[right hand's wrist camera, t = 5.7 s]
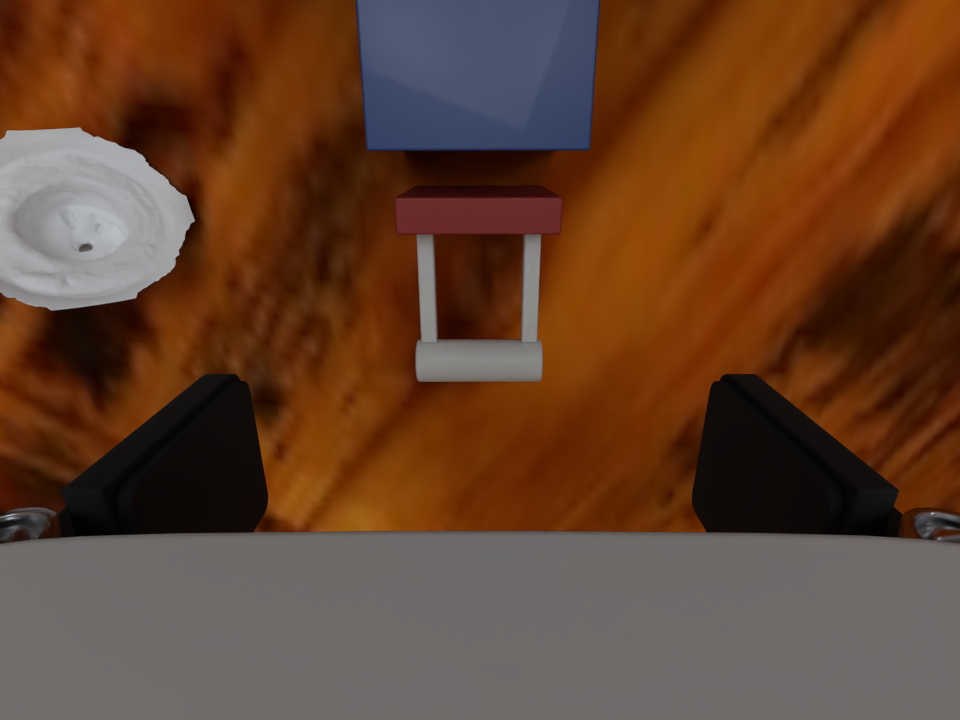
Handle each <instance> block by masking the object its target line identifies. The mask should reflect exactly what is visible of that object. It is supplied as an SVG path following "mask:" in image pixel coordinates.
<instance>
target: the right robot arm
mask: <svg viewBox="0 0 960 720" xmlns="http://www.w3.org/2000/svg"><path fill="white" fill-rule="evenodd" d="M61 492H62V495H63V498H64V501H65V504H66V508H64V509H63V510H62V511H61V512H60V513H59V514H57V515H56V513H55V512H53V511H51V510H48V509H46V508H23V509H15V510H10V511H6V512H2V513H0V720H960V513H958V512H954V511H950V510H945V509H937V508H914V509H912V510H909V511H907V512H905V513H904V515H903V514H901V513H900V512H899V511H898V510H897V509H896V508H894V504H895V501H896V498H897V495H898V492H899V490H898V489H897V488H895V487H894V486H893V485H892V484H890V483H889V482H888V481H887V480H885V479H884V478H883V477H882V476H880V475H879V474H878V473H877V472H876V471H874V470H873V469H872V468H871V467H869V466H868V465H867V464H866V463H864V462H863V461H862V460H861V459H859V458H858V457H857V456H856V455H855V454H853V453H852V452H851V451H850V450H848V449H847V448H846V447H845V446H843V445H842V444H841V443H840V442H838V441H837V440H836V439H835V438H834V437H832V436H831V435H830V434H829V433H827V432H826V431H825V430H824V429H822V428H821V427H820V426H819V425H817V424H816V423H815V422H814V421H813V420H811V419H810V418H809V417H808V416H806V415H805V414H804V413H803V412H801V411H800V410H799V409H798V408H796V407H795V406H794V405H793V404H792V403H790V402H789V401H788V400H787V399H785V398H784V397H783V396H782V395H780V394H779V393H778V392H777V391H775V390H774V389H773V388H772V387H771V386H769V385H768V384H767V383H766V382H764V381H763V380H762V379H761V378H759V377H758V376H757V375H755V374H725V375H723V376H722V377H721V379H720V381H715V382H713V383H712V385H711V388H710V393H709V399H708V405H707V411H706V416H705V422H704V428H703V434H702V440H701V445H700V451H699V457H698V463H697V469H696V474H695V480H694V486H693V492H692V504H693V508H694V511H695V513H696V515H697V517H698V518H699V520H700V522H701V523H702V525H703V527H704V528H705V530H706V532H707V533H701V532H583V531H355V532H262V533H253V532H254V530H255V528H256V527H257V525H258V523H259V522H260V520H261V518H262V517H263V515H264V513H265V511H266V508H267V504H268V492H267V486H266V480H265V474H264V469H263V463H262V457H261V451H260V445H259V440H258V434H257V428H256V422H255V416H254V411H253V405H252V399H251V393H250V388H249V385H248V383H247V382H245V381H240V379H239V377H238V376H237V375H235V374H205V375H203V376H202V377H201V378H199V379H198V380H197V381H196V382H194V383H193V384H192V385H191V386H189V387H188V388H187V389H186V390H185V391H183V392H182V393H181V394H180V395H178V396H177V397H176V398H175V399H173V400H172V401H171V402H170V403H168V404H167V405H166V406H165V407H164V408H162V409H161V410H160V411H159V412H157V413H156V414H155V415H154V416H152V417H151V418H150V419H149V420H147V421H146V422H145V423H144V424H143V425H141V426H140V427H139V428H138V429H136V430H135V431H134V432H133V433H131V434H130V435H129V436H128V437H126V438H125V439H124V440H123V441H122V442H120V443H119V444H118V445H117V446H115V447H114V448H113V449H112V450H110V451H109V452H108V453H107V454H105V455H104V456H103V457H102V458H101V459H99V460H98V461H97V462H96V463H94V464H93V465H92V466H91V467H89V468H88V469H87V470H86V471H84V472H83V473H82V474H81V475H80V476H78V477H77V478H76V479H75V480H73V481H72V482H71V483H70V484H68V485H67V486H66V487H65V488H63V489H62V490H61Z"/></svg>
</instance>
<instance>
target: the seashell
mask: <svg viewBox="0 0 960 720" xmlns="http://www.w3.org/2000/svg"><path fill="white" fill-rule="evenodd" d="M148 164H149V163H147V162H145V158H144V157H143V156H142V155H141V154H139V153H137V152H136V151H135V150H131V149H128V148H127V149H126V148H123V147H121V146H119V145H118V144H117V143H113V142H109V141H106V140H104V139H102V138H100V137H93V136H92V135H90V134H88V133H86V132H83V131H82V129H81V128H66V129H50V130H28V131H7V132H6V135H5V137H4V138H3V139H0V292H1V293H3V295H4V296H6V297H7V298H16V299H17V300H18V301H21V302H23V303H25V304H28V305H32V306H35V307H39V306H41V307H47V308H48V309H50V310H51V311H52V310H61V309H70V308H78V307H85V306H92V305H99V304H105V303H112V302H118V301H124V300H129V299H134V298H136V297H137V293H138V292H139V291H141V290H142V289H144V288H146V287H148V286H149V285H150V284H152V283H153V282H155V281H158V280H159V279H160V278H161V277H163V276H166V275H167V273H169V272H171V270H172V269H173V268H174V267H175V264H176V260H175V258H176V257H177V256H178V255H180V254H179V249H180V247H181V246H182V244H183V241H184V240H185V234H186V230H188V229H189V227H190V224H191V223H193V222H194V221H195V220H194V217H193V214H192V212H191V209H190V206H189V203H188V200H187V197H186V196H185V195H182V194H181V193H180V192H178V191H177V190H176V189H175V188H174V187H173V186H171V185H170V184H169V182H168V179H166V178H165V177H164V176H163V175H161V174H159V173H158V172H157V171H155V170H154V169H153V168H151V167H150V166H149V165H148Z"/></svg>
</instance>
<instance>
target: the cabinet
mask: <svg viewBox="0 0 960 720" xmlns="http://www.w3.org/2000/svg"><path fill="white" fill-rule="evenodd" d="M599 8H600V0H356V12H357V25H358V39H359V52H360V66H361V80H362V93H363V107H364V120H365V134H366V147H367V150H368V151H587V150H589V149H590V140H591V125H592V111H593V96H594V81H595V67H596V52H597V37H598V23H599Z"/></svg>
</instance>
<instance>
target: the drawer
mask: <svg viewBox="0 0 960 720" xmlns="http://www.w3.org/2000/svg"><path fill="white" fill-rule="evenodd" d="M562 200H563V199H562V197H560V196H558V195H557V194H555V193H553V192H552V191H550V190H548V189H546V188H545V187H543V186H416V187H414V188H412V189H410V190H408V191H407V192H405V193H403V194H401V195H399V196H397V197H396V198H395V217H396V233H397V234H399V235H417V256H418V278H419V301H420V323H421V340H418V341H417V345H416V359H415V361H416V376H417V380H418V381H420V382H536V381H540V380H541V378H542V368H543V353H542V344H541V341H540V340H539V339H537V325H538V300H539V274H540V249H541V234H560V233H561V220H562ZM458 234H523V270H522V306H521V339H483V340H437V337H438V335H437V304H436V274H435V243H434V235H458Z"/></svg>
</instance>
